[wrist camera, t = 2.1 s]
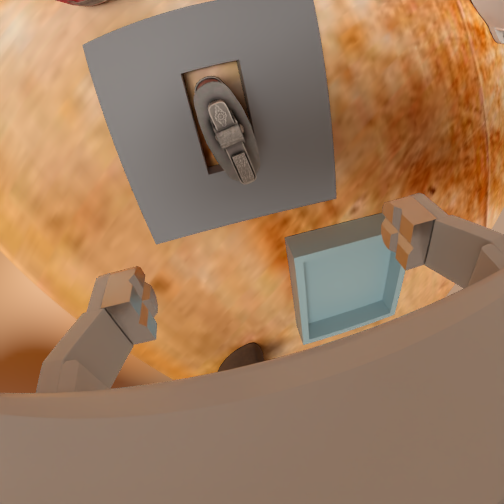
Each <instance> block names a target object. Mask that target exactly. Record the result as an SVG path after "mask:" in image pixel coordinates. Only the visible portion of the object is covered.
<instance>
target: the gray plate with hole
mask: <svg viewBox="0 0 504 504" xmlns="http://www.w3.org/2000/svg"><path fill="white" fill-rule="evenodd" d="M83 49H84V52H85V56H86V60H87V63H88V67H89V70H90V73H91V77H92V80H93V83H94V87H95V90H96V93H97V96H98V99H99V102H100V105H101V108H102V111H103V114H104V117H105V120H106V123H107V126H108V128H109V131H110V134H111V137H112V139H113V142H114V145H115V148H116V150H117V153H118V155H119V158H120V161H121V163H122V166H123V168H124V171H125V173H126V176H127V178H128V181H129V183H130V186H131V188H132V190H133V193H134V195H135V198H136V200H137V202H138V205H139V207H140V209H141V212H142V214H143V216H144V218H145V221H146V223H147V225H148V227H149V230H150V232H151V234H152V236H153V238H154V240H155V243H156V244H160V243H163V242H167V241H170V240H174V239H178V238H181V237H185V236H189V235H192V234H196V233H200V232H203V231H207V230H211V229H215V228H218V227H222V226H226V225H230V224H234V223H238V222H241V221H245V220H249V219H253V218H257V217H261V216H265V215H269V214H273V213H277V212H281V211H285V210H290V209H294V208H298V207H302V206H306V205H310V204H315V203H319V202H323V201H328V200H332V199H336V179H335V162H334V147H333V135H332V124H331V114H330V104H329V95H328V87H327V79H326V72H325V65H324V58H323V51H322V45H321V39H320V33H319V28H318V22H317V17H316V12H315V7H314V2H313V0H215V1H210V2H205V3H201V4H196V5H192V6H188V7H184V8H180V9H177V10H173V11H169V12H166V13H163V14H159V15H156V16H153V17H150V18H147V19H144V20H141V21H138V22H135V23H133V24H130V25H127V26H125V27H122V28H120V29H117V30H115V31H112V32H110V33H108V34H105V35H103V36H101V37H98V38H96V39H94V40H92V41H90V42H88V43H86V44H84V45H83ZM235 60H236V61H237V65H238V70H239V74H240V79H241V84H242V88H243V93H244V98H245V102H246V107H247V112H248V117H249V121H250V124H251V127H252V130H253V133H254V136H255V139H256V143H257V147H258V153H259V158H260V169H259V171H258V173H257V174H256V180H255V181H253V182H252V183H249V184H242V183H241V182H240V181H236V180H233V179H231V178H230V177H229V176H228V175H227V174H226V172H225V171H224V170H223V168H222V167H221V166H220V164H218V165H215V166H211V167H207V163H206V159H205V156H204V152H203V149H202V145H201V142H200V138H199V134H198V131H197V127H196V123H195V120H194V116H193V112H192V109H191V105H190V101H189V98H188V94H187V90H186V86H185V83H184V79H183V75H182V73H185V72H189V71H192V70H196V69H200V68H204V67H208V66H212V65H216V64H221V63H225V62H230V61H235Z"/></svg>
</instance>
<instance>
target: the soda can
mask: <svg viewBox="0 0 504 504" xmlns="http://www.w3.org/2000/svg"><path fill="white" fill-rule="evenodd" d="M57 1H60V2H64V3H68V4H71V5H78V6H93V5H97V4H101V3H103V2H105V1H107V0H57Z"/></svg>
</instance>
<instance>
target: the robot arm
mask: <svg viewBox="0 0 504 504" xmlns="http://www.w3.org/2000/svg"><path fill="white" fill-rule="evenodd" d="M471 1H472V3H473V5H474V6H475V8H476V9H477V11H478V12H479V14H480V15H481V16H482V18H483V19H484V20H485V21H486V23H487V24H488V26H489V29H490V31H491V33H492V36H493V38H494V40H495V41H496V42H497V43H502V44H504V0H471ZM382 214H383V215H384V216H385V219H384V221H383V222H382V224H381V235H382V239H383V242H384V244H385V246H386V247H387V248H388V249H389V250H390V251H393V252H395V253H396V257H395V258H396V259H397V261H398V262H399V263H400V264H401V266H402V267H403V268H404V270H409V269H412V268H415V267H418V266H421V265H424V264H425V266H427V267H429V268H430V269H432V270H434V271H436V272H437V273H439V274H441V275H442V276H444V277H446V278H447V279H449V280H451V281H452V282H454V283H456V284H457V285H459V286H461V287H462V288H464V289H462V290H460V291H458V292H456V293H454V294H451V295H449V296H447V297H445V298H443V299H441V300H438V301H436V302H434V303H432V304H429V305H427V306H425V307H423V308H420V309H418V310H416V311H413V312H411V313H408V314H406V315H403V316H401V317H399V318H396V319H394V320H391V321H388V322H386V323H383V324H381V325H378V326H375V327H373V328H370V329H367V330H364V331H362V332H359V333H356V334H353V335H350V336H347V337H344V338H341V339H338V340H335V341H332V342H329V343H326V344H323V345H320V346H316V347H313V348H310V349H307V350H303V351H300V352H296V353H293V354H289V355H286V356H282V357H278V358H275V359H271V360H267V361H263V362H259V363H255V364H251V365H247V366H243V367H238V368H234V369H230V370H225V371H220V372H216V373H211V374H206V375H201V376H196V377H190V378H185V379H179V380H173V381H167V382H161V383H154V384H148V385H140V386H132V387H124V388H115V389H110V388H111V386H112V384H113V382H114V381H115V379H116V377H117V375H118V373H119V371H120V369H121V368H122V366H123V364H124V362H125V360H126V359H127V356H128V355H129V353H130V351H131V350H132V348H133V345H134V344H138V343H143V342H147V341H152V340H156V331H157V323H156V321H155V319H154V317H155V315H156V314H157V311H158V304H157V299H156V295H155V292H154V290H153V288H152V286H151V285H150V284H148V283H146V282H144V281H145V274H144V272H143V271H142V269H141V268H140V267H138V266H136V267H132V268H128V269H124V270H120V271H116V272H113V273H109V274H105V275H102V276H99V277H98V278H96V282H95V285H94V288H93V291H92V295H91V298H90V302H89V306H88V309H87V312H86V313H83V314H82V315H81V316H80V317H79V319H78V320H77V321H76V322H75V323H74V325H73V326H72V327H71V328H70V329H69V330H68V332H67V333H66V334H65V336H64V337H63V338H62V339H61V340H60V341H59V343H58V344H57V345H56V346H55V348H54V349H53V350H52V351H51V353H50V354H49V355H48V357H47V358H46V359H45V360H44V362H43V364H42V368H41V372H40V376H39V381H38V385H37V390H36V393H0V504H504V235H503V234H501V233H499V232H496V231H494V230H491V229H489V228H486V227H483V226H481V225H478V224H476V223H473V222H470V221H468V220H465V219H462V218H459V217H456V216H454V215H447V214H446V213H445V212H444V211H443V210H442V209H441V208H439V207H438V206H437V205H436V204H435V203H434V202H432V201H431V200H430V199H429V198H428V197H426V196H425V195H424V194H422V193H417V194H413V195H410V196H407V197H403V198H400V199H396V200H392V201H388V202H384V205H383V210H382Z"/></svg>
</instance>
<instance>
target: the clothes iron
mask: <svg viewBox="0 0 504 504" xmlns="http://www.w3.org/2000/svg"><path fill="white" fill-rule="evenodd" d="M263 361H264V357H263V352H262V350H261V348H260V347H259V346H258V345H257V344H255V343H250V344H247V345H245V346H243V347H241V348H239V349H237V350H236V351H234V352H233V353H232V354H230V355H229V356H228V357H227V358H226V359H225V361H224V362H223V363H222V365H221V366H220V368H219V370H218V372H220V371H225V370H230V369H234V368H238V367H243V366H247V365H251V364H255V363H259V362H263Z"/></svg>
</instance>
